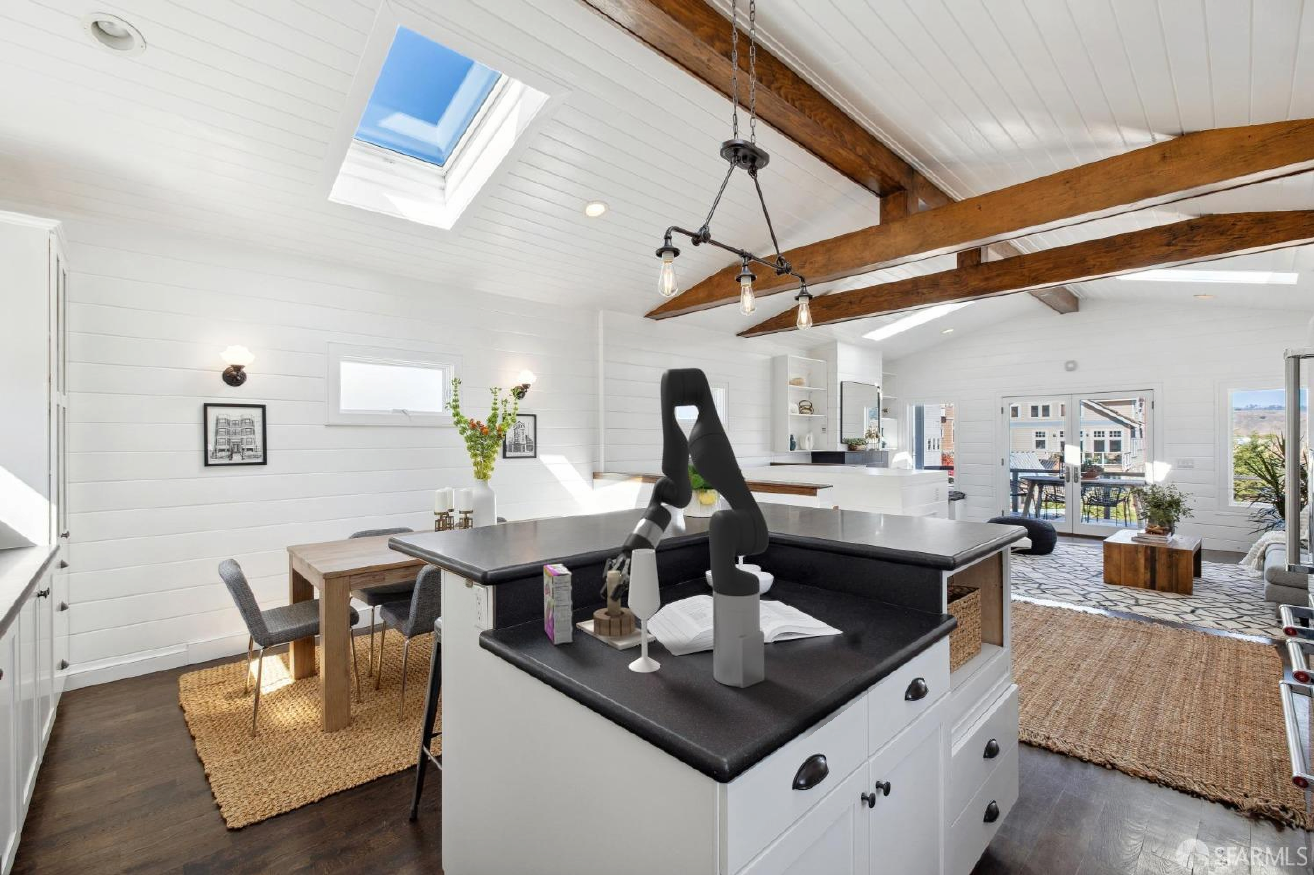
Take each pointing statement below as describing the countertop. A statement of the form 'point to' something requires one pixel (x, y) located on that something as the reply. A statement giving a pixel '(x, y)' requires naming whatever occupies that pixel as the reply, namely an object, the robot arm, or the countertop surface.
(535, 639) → the countertop surface
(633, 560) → the champagne flute
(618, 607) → the wooden dowel peg
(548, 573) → the candy bar box
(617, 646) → the gear board
